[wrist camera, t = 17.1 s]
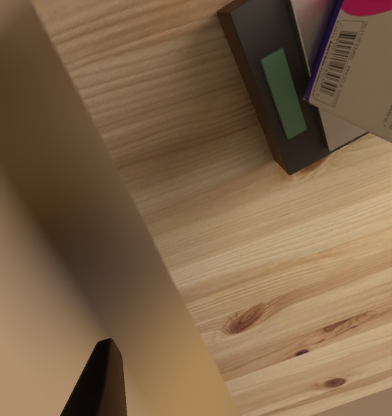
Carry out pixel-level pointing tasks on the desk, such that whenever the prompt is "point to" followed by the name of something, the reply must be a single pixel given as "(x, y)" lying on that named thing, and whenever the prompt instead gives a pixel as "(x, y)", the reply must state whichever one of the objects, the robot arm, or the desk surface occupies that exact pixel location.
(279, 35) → the scale
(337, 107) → the supplement box
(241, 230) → the desk surface
